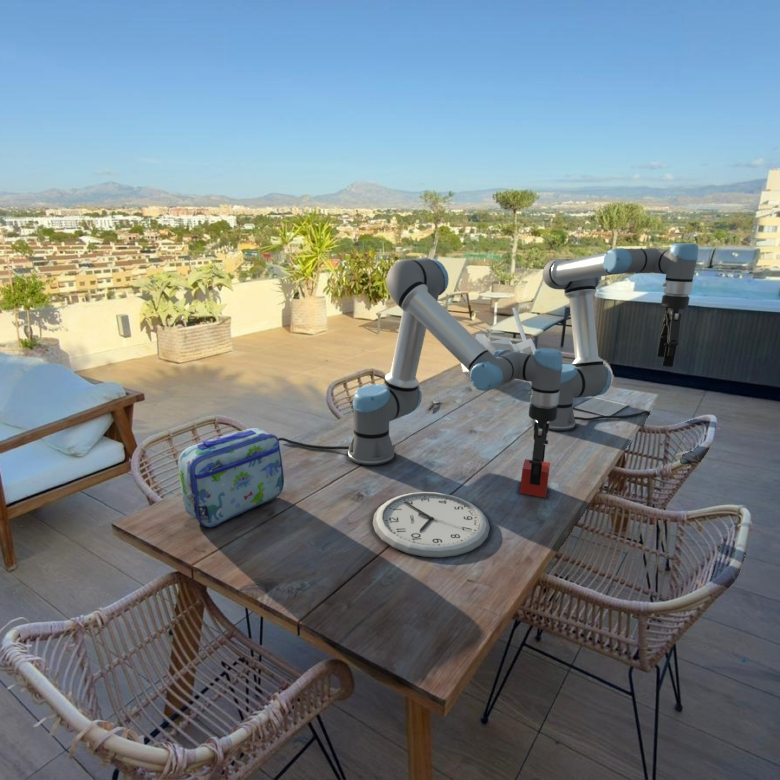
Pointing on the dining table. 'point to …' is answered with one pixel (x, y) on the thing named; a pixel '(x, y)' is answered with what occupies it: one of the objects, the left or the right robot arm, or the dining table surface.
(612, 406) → the invitation card
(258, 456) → the lunch box
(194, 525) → the dining table surface
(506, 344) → the white plastic object
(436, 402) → the fork
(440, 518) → the wall clock
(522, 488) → the brick
